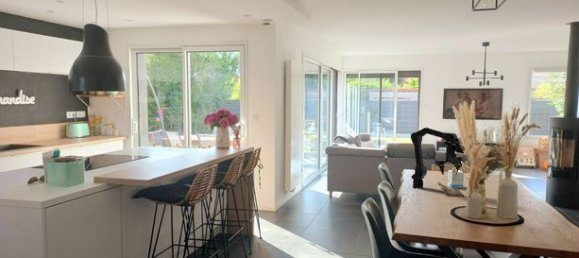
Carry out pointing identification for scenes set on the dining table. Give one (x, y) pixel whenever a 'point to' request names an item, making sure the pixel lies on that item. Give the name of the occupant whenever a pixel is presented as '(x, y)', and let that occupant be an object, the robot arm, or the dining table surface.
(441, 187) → the plank front
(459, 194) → the tan wooden tile
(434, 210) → the dining table surface
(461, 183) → the ink box
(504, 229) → the dining table surface
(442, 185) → the plank rear
